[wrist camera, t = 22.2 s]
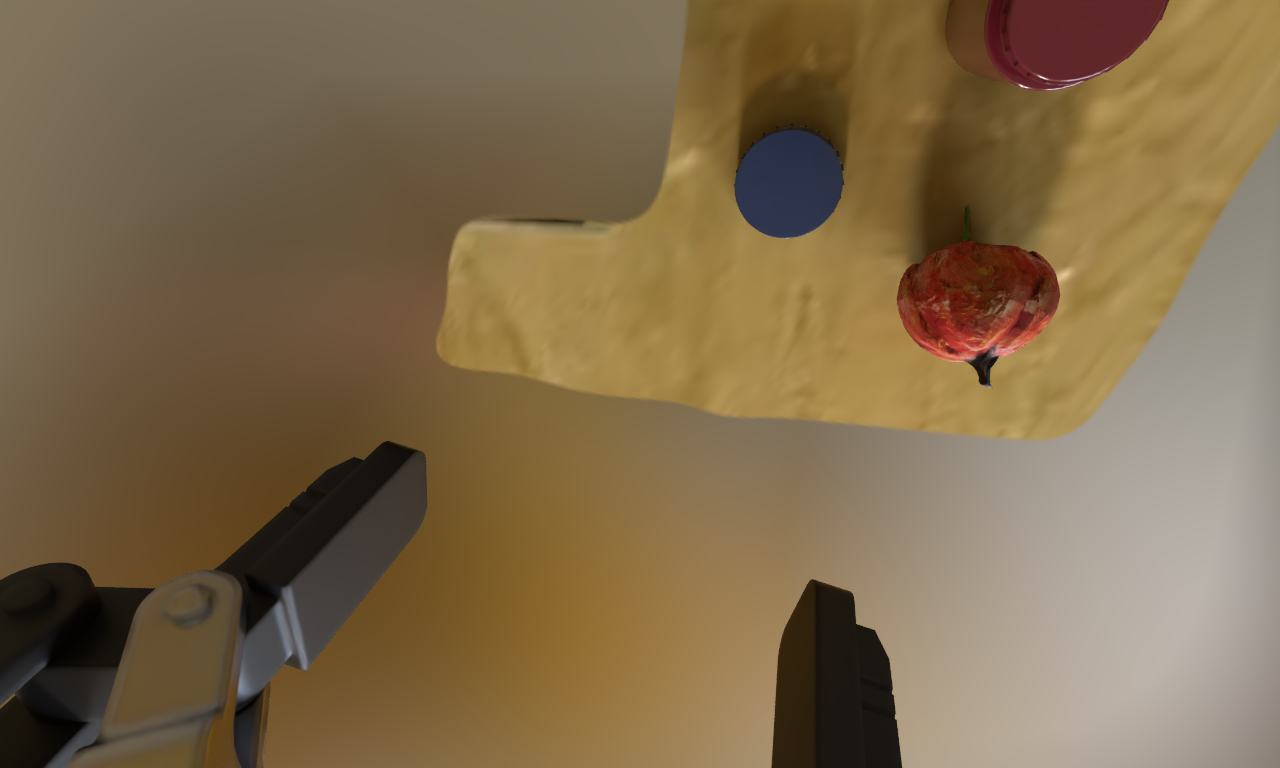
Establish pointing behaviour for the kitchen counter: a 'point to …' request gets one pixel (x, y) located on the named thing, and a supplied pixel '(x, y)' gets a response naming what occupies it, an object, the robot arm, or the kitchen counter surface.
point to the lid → (789, 181)
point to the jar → (1047, 38)
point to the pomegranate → (977, 301)
